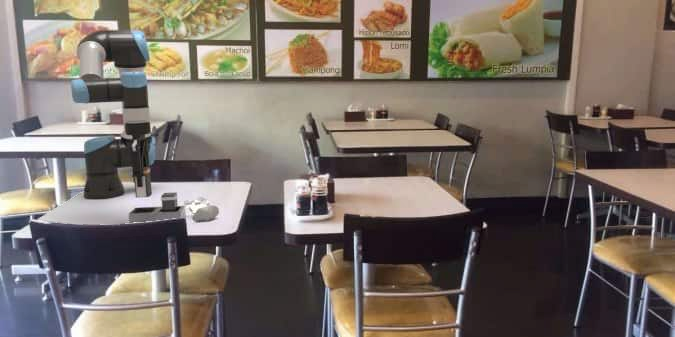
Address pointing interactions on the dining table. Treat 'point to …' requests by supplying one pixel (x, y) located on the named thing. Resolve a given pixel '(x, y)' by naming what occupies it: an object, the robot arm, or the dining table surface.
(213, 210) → the figurine
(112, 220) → the dining table surface
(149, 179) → the plug
